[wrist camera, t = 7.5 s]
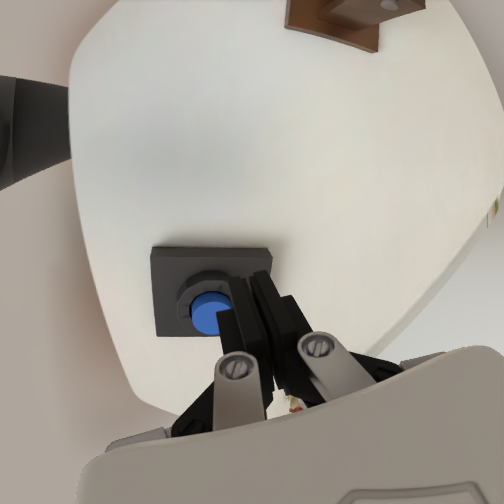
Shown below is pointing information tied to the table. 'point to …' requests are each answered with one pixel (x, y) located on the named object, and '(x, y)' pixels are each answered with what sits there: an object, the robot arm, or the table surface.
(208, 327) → the blue button
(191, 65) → the table surface
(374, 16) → the lever bracket
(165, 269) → the button block
